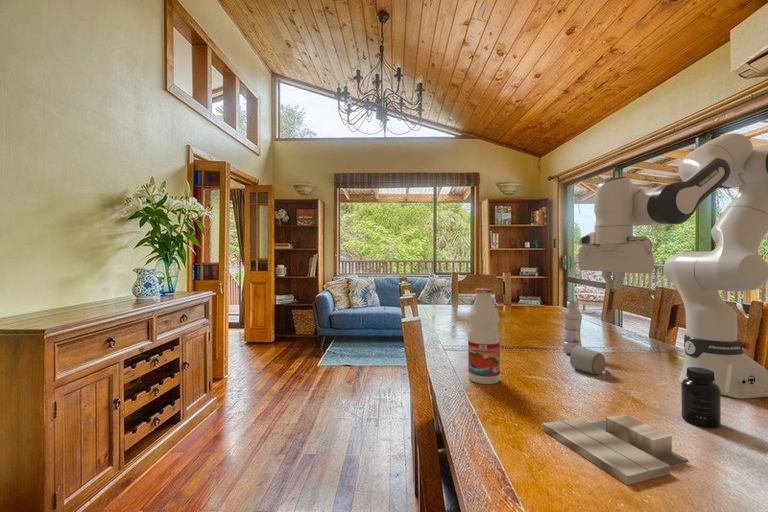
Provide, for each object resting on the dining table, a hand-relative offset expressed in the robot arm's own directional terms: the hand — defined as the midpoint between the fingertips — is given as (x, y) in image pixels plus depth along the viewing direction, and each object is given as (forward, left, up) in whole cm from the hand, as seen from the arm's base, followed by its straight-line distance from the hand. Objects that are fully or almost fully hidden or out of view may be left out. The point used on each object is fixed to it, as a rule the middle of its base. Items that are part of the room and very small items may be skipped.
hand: (613, 288), depth 99 cm
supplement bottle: (-11, +15, -29) cm, 35 cm away
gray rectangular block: (+11, +21, -27) cm, 36 cm away
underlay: (+10, +24, -29) cm, 39 cm away
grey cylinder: (-4, -21, -29) cm, 37 cm away
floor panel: (+18, +28, -29) cm, 44 cm away
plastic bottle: (-8, -41, -29) cm, 51 cm away
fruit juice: (+32, -12, -29) cm, 45 cm away
